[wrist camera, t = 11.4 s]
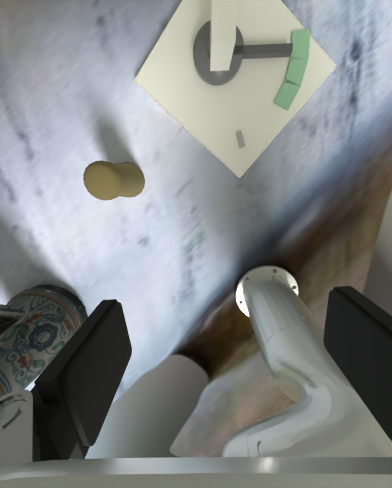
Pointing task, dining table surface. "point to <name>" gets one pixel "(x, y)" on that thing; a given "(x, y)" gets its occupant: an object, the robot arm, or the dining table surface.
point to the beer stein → (35, 333)
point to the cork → (113, 180)
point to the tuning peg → (227, 45)
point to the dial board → (235, 80)
